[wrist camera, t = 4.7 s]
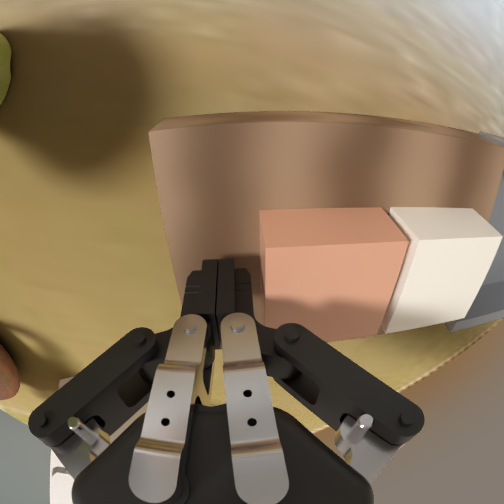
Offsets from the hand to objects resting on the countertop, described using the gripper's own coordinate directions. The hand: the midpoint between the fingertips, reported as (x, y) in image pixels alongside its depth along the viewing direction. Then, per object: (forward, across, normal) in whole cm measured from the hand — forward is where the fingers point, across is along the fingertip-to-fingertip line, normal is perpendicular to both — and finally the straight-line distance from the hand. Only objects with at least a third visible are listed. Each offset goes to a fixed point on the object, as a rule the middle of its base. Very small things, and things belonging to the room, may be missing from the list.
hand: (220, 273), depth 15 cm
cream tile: (+1, -12, 0) cm, 12 cm away
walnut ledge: (+4, -7, 0) cm, 8 cm away
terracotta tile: (+1, -5, 0) cm, 5 cm away
